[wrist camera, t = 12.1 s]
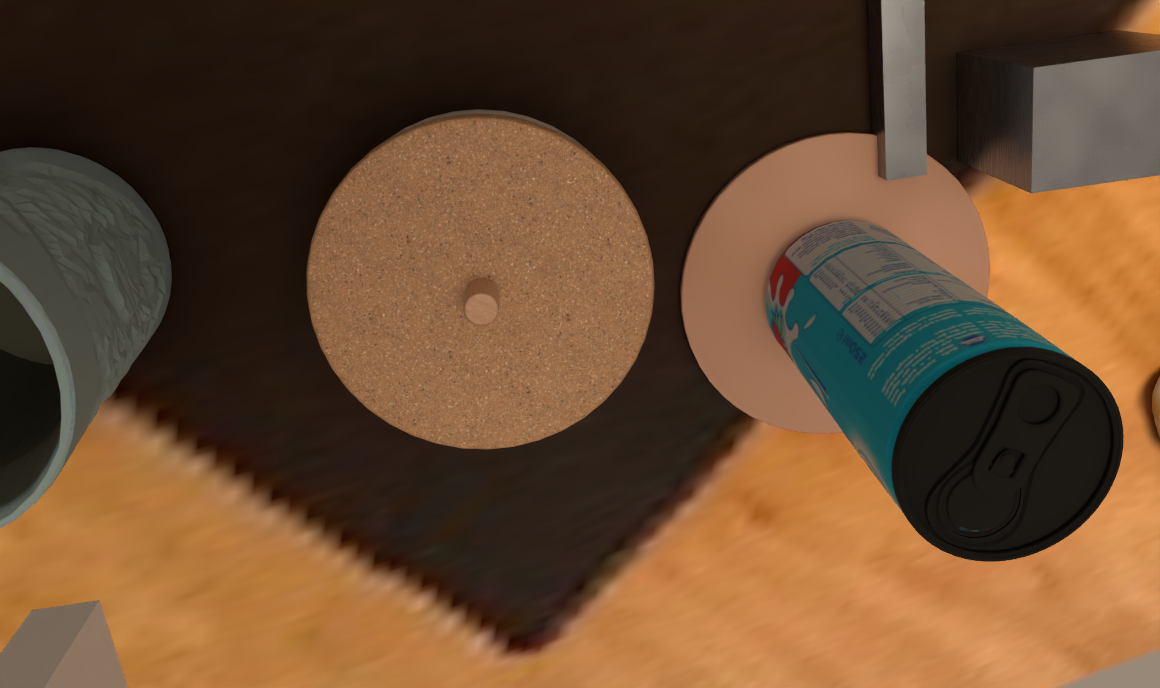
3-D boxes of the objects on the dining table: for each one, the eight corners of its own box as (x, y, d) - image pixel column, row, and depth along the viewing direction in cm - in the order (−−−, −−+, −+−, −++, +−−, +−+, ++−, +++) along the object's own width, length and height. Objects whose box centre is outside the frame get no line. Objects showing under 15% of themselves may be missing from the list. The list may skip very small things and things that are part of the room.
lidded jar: (550, 408, 43) (563, 524, 34) (296, 297, 41) (239, 390, 32) (678, 168, 40) (728, 226, 31) (412, 34, 38) (384, 56, 29)
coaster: (665, 155, 40) (667, 158, 39) (983, 110, 40) (990, 112, 39) (694, 446, 44) (696, 453, 43) (982, 404, 44) (989, 410, 43)
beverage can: (730, 314, 41) (848, 497, 27) (822, 185, 40) (997, 307, 26) (850, 388, 43) (1021, 599, 29) (943, 266, 41) (1172, 424, 27)
